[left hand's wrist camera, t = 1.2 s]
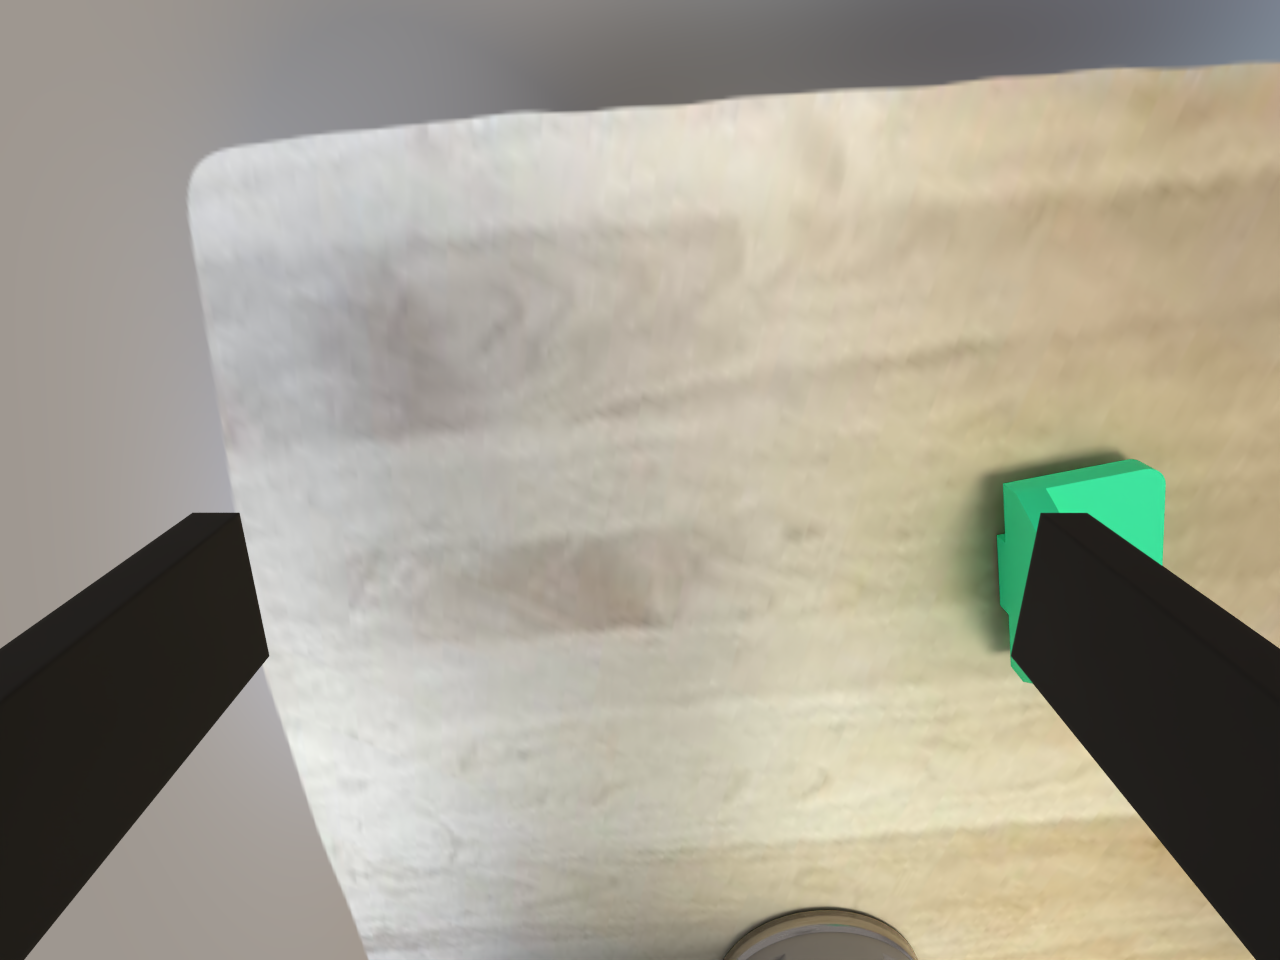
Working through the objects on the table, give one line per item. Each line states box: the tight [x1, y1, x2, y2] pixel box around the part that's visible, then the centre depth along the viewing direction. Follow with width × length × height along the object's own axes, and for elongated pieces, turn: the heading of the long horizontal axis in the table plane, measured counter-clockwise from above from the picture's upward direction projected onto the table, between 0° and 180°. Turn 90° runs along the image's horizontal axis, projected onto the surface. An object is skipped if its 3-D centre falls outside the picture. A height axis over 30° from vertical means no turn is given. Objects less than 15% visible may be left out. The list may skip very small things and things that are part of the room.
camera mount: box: [997, 459, 1166, 684], centre depth 38 cm, size 12×8×10 cm, turn 12°
